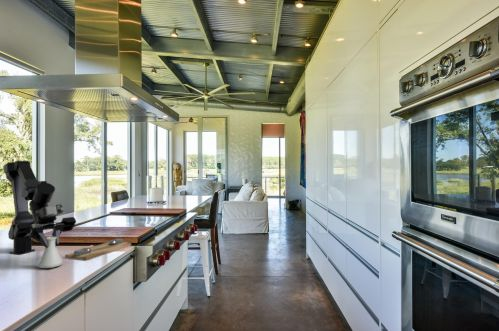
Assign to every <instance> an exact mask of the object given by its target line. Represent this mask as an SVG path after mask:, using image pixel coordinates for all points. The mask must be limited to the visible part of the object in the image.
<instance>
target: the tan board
mask: <svg viewBox="0 0 499 331" xmlns="http://www.w3.org/2000/svg"><path fill="white" fill-rule="evenodd" d="M131 246H132V243H131V242H126V241H123V243H120V244H117V245H109V241H108V242H104V243H100V244H97V245H93V246H90V247H89V248H91V253H88V254H85V255H81V256H75V255H74V251H73V252H70V253H67V254H65V255H64V257H65V259H72V260H81V261H89V260H92V259H96V258H98V257H101V256H103V255H104V256H105V255H107V254H110V253H113V252H116V251H118V250H119V251H120V250H122V249H126V248H128V247H131Z"/></svg>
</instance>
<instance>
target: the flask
mask: <svg viewBox="0 0 499 331" xmlns="http://www.w3.org/2000/svg"><path fill="white" fill-rule="evenodd" d="M45 238H46V240H47V243H48V248H46V247H44V252H43V254H42V256H41V258H40V260H39V262H38V266H37V268H41V269H51V268H55V267H59V266H61V265H63V264H64V261H63V259H62V257H61V254H60V253H59V250H58V248H57V247H58V246H56V238H57V237H53V236H48V237H45Z"/></svg>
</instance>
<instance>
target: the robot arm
mask: <svg viewBox="0 0 499 331" xmlns="http://www.w3.org/2000/svg"><path fill="white" fill-rule="evenodd" d="M31 164H32V163H31V161H28V160H17V161H14V162H12V161H11V162H9V161H8V162H7V163H5V164H3V173H4V174H5V179H7V180H8V182H10V183H11V189H12V196H13V197H12V199H13V205H14V214H15V216H14V217H13V219H12V221H11V225H10V228H9V230H8V232H7V233H8V239H9V240H11V241H12V240H13V250H12V251H9V254H14V255H23V254H27V253H30V252H35V251H36V249H33V248H32V247H33V245H32V244H33V243H32V239H33V240H34V241H37V242H38V243H39V244H41V245H42V246H43V247H44V248H45V247H46V248H48V243H47V240H46V238H47V237H46V236H45V233H44V231H49V230H52V233H51V237H57V238H56V247H58V246H59V244H60V234H62V233H64V232H70V231H73V230H74V227H75V225H76V223H77V220H76V217H74V216H68V217H63V218H62V219H61V221H56V220H57V216H58V215H61V214H63V213H64V208H63V207H64V206H63V205H62V203H61V204H56V205H51V206H49V203H51V200H52V198H53V196H54V193H55V190H56V187H55V186H54V185H53V184H51V183H48V181H47V180H38V178H37V177H36V174H35V173H34V171H33V168H32V166H31ZM28 201H29V203H28ZM55 221H56V222H55Z"/></svg>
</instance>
